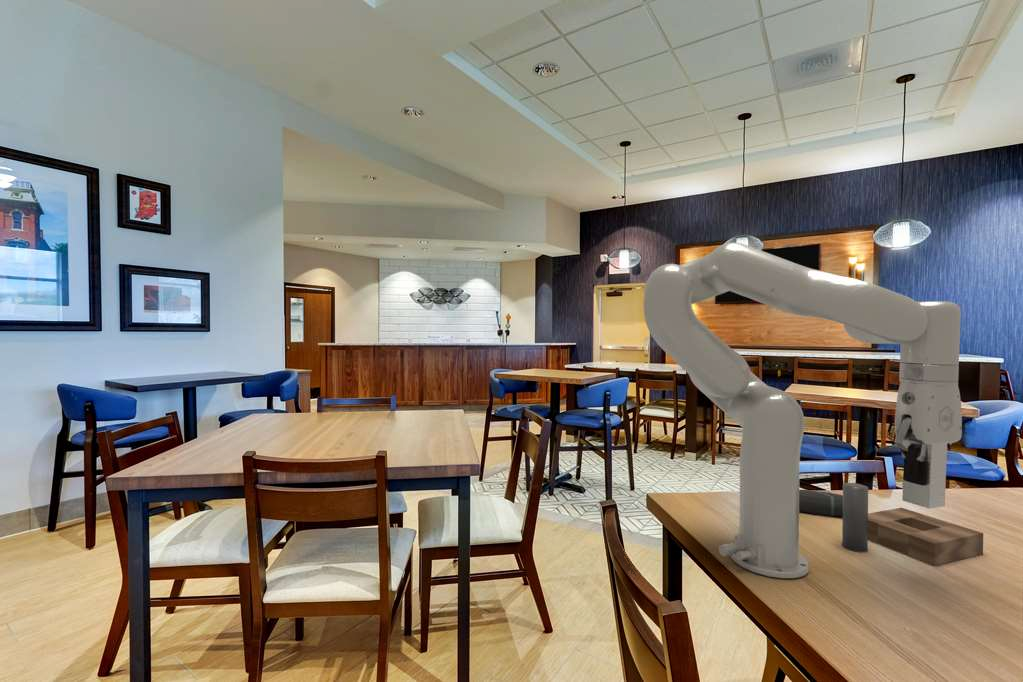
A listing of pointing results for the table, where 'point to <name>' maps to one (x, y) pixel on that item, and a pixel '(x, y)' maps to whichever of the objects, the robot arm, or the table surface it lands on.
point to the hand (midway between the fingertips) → (923, 480)
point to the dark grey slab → (820, 503)
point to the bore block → (923, 536)
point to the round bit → (855, 517)
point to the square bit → (929, 479)
